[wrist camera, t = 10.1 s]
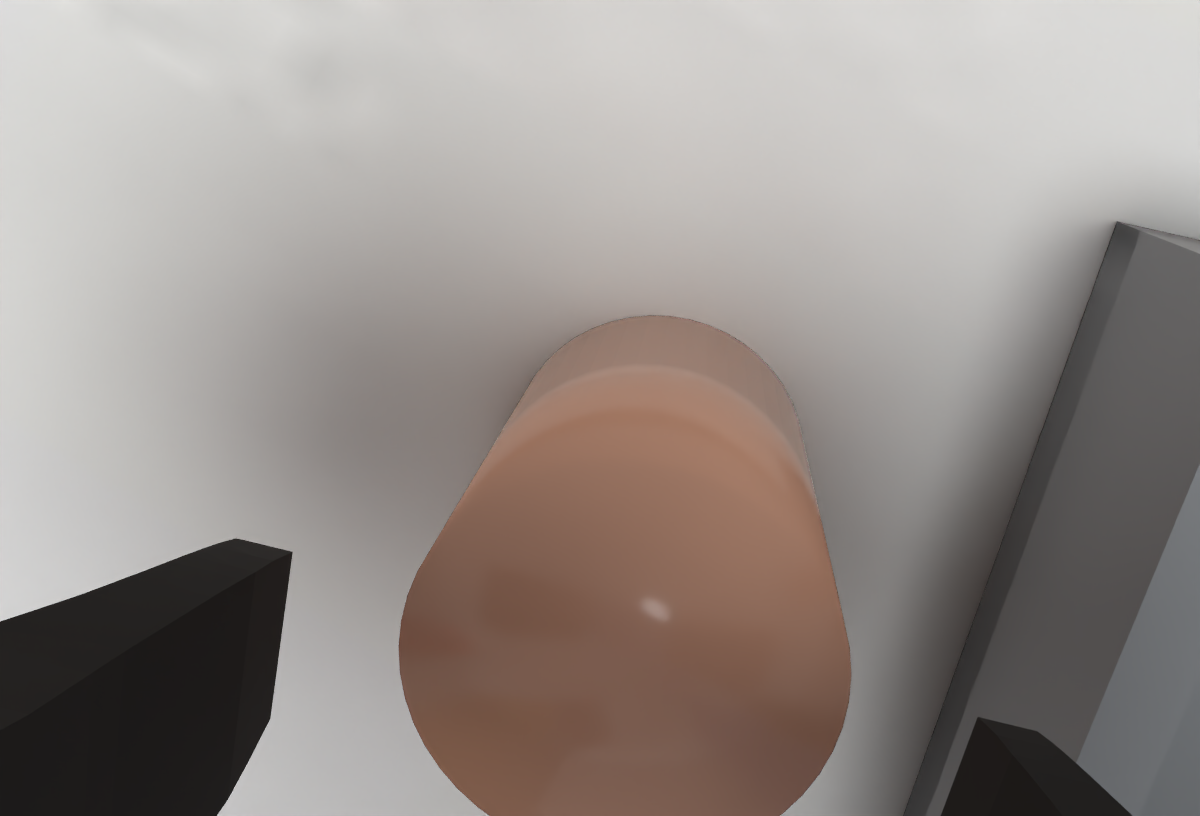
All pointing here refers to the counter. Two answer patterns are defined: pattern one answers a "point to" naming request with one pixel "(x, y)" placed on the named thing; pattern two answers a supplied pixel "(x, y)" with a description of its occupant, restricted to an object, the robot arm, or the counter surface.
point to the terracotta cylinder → (634, 592)
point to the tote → (1102, 554)
